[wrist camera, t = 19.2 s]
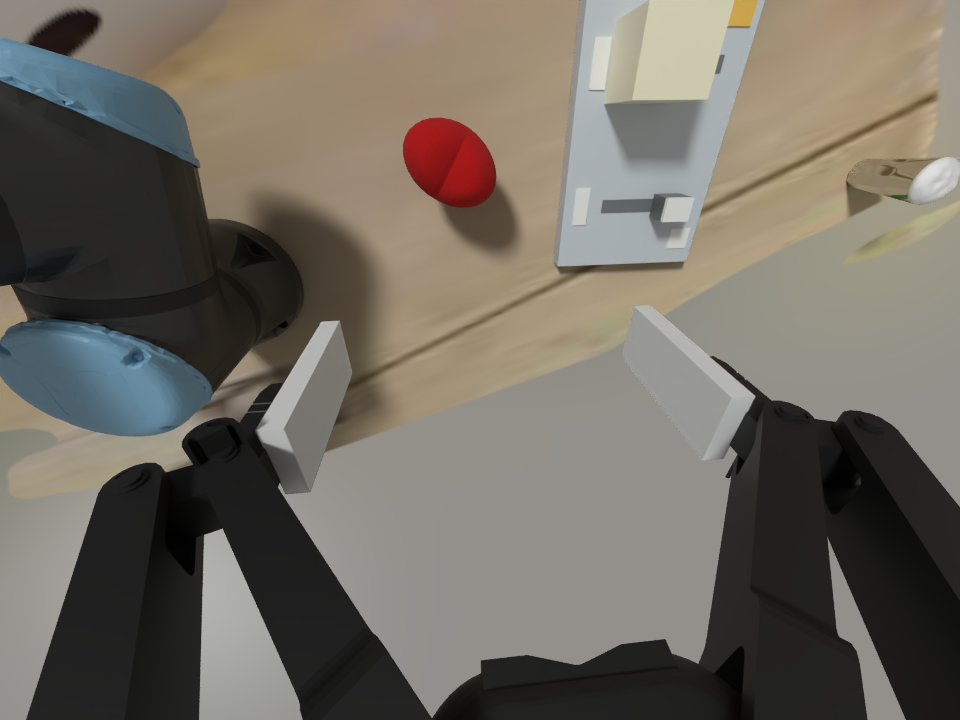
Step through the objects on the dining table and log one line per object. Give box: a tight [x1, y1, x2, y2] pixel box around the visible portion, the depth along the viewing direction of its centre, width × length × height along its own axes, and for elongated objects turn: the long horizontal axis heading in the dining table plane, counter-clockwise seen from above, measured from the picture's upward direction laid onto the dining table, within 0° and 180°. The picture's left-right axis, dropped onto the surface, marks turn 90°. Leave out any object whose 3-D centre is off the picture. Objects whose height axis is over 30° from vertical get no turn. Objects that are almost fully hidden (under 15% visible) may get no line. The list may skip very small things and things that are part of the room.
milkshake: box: [847, 157, 960, 205], centre depth 41 cm, size 4×5×10 cm
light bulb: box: [403, 118, 496, 208], centre depth 36 cm, size 9×7×10 cm
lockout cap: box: [604, 0, 735, 104], centre depth 33 cm, size 7×6×7 cm
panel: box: [554, 0, 765, 266], centre depth 40 cm, size 17×28×2 cm, turn 1°
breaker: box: [649, 193, 695, 222], centre depth 42 cm, size 3×2×3 cm
